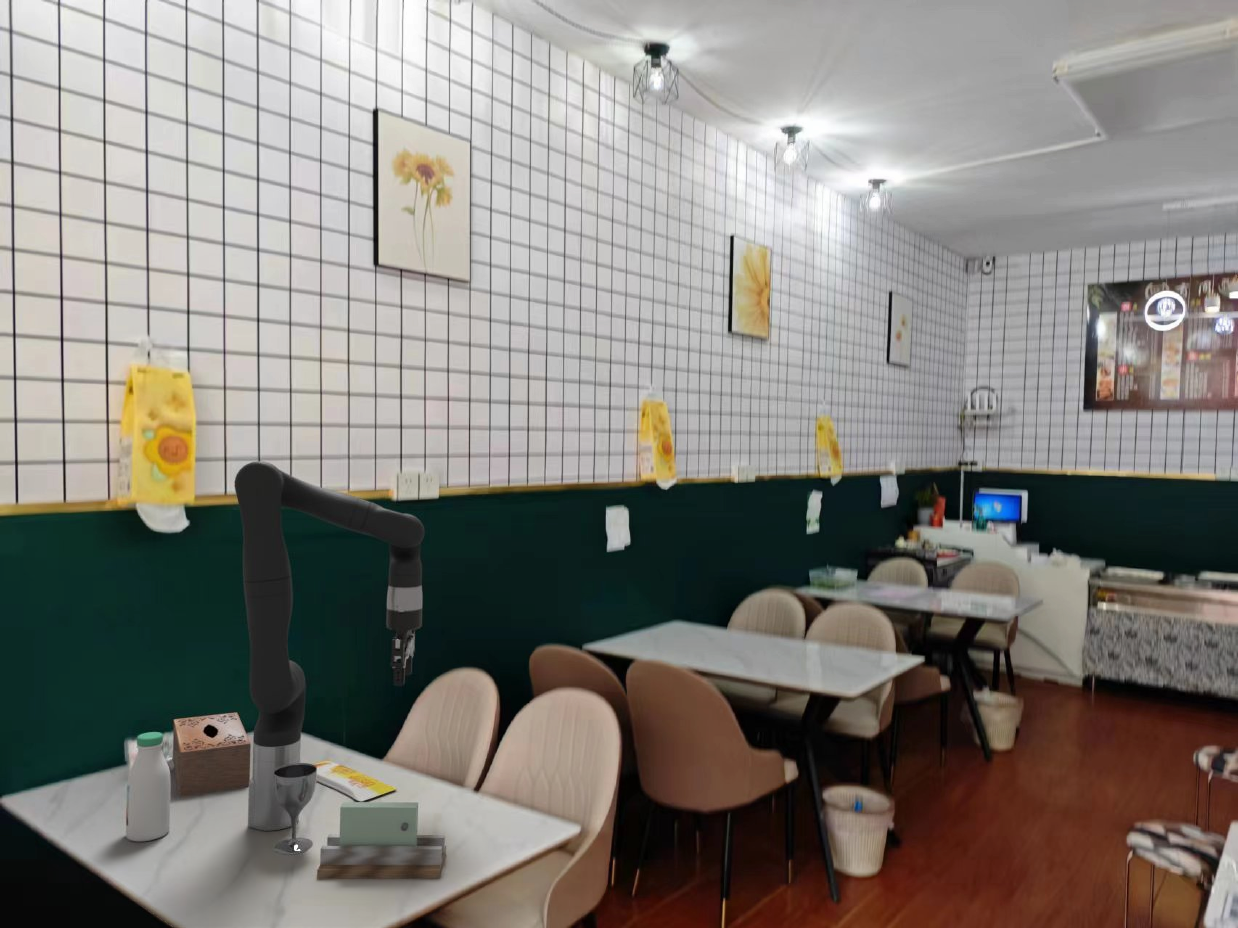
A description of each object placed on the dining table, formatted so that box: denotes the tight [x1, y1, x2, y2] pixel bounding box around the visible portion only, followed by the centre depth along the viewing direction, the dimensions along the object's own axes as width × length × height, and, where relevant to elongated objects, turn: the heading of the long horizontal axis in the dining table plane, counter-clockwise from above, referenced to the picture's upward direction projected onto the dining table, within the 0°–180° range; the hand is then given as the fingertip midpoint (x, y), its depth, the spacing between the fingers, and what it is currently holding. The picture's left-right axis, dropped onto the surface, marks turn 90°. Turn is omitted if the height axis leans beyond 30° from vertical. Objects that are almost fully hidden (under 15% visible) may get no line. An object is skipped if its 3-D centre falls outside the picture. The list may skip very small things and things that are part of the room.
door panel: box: [339, 801, 419, 846], centre depth 167 cm, size 14×3×10 cm, turn 94°
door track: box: [316, 834, 447, 879], centre depth 167 cm, size 22×10×4 cm, turn 94°
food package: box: [312, 760, 398, 802], centre depth 207 cm, size 27×2×10 cm
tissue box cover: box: [172, 712, 252, 797], centre depth 211 cm, size 26×14×10 cm, turn 30°
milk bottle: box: [125, 731, 171, 842], centre depth 177 cm, size 8×8×20 cm
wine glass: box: [273, 762, 317, 855], centre depth 174 cm, size 8×8×15 cm
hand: (402, 680), depth 193 cm, fingers open, 8 cm apart
